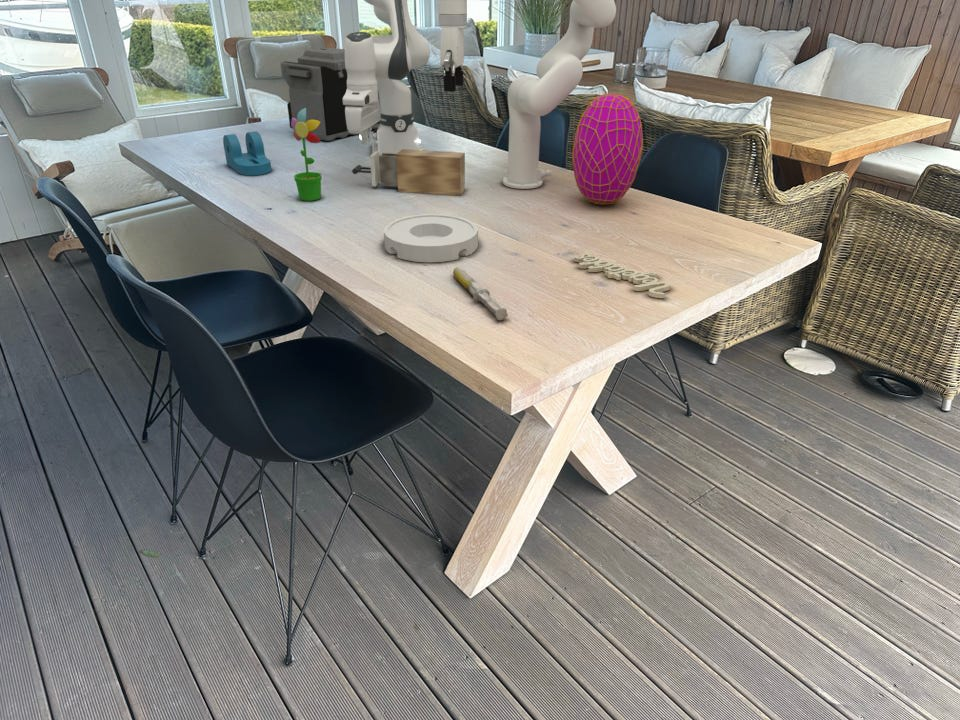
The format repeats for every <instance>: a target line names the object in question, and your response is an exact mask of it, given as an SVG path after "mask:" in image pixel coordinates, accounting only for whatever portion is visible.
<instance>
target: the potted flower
mask: <svg viewBox="0 0 960 720" xmlns="http://www.w3.org/2000/svg"><path fill="white" fill-rule="evenodd" d="M305 122H306V108H304V109H302V110H301V111H300V112H299V113H298V115H297V120H296V119H295V118H292V121H291V126H292V128H291V129H293V132H292V134H293V137H294V138H295V139H296V141H297V142H300V141H301V140H302V147H303V149H301V150H300V155H301V156H302V157H304V165H305V171H303V172H299V173H296V174H294V175H293V179H294V182H295V185H296V188H297V193H298V197H299V199H300V200H301V201H306V202H311V201H317V200H320V199H321V197H322V180H323V179H322V178H323V177H322V174H321V173H320V172H316V171H309V165H312V164H314V163H315V159H314V158H312V157H308V156H307V148H306V141H307V142H309V143H311V144H318V143H321V142H322V140H320V139H319V138H318V137H317V136H316V135H315V134H313V133H312V132H309V131H313V130H315V129H316V128H317V127H318V126H319V124H320V121H318V120H309V121H307V122H306V123H305ZM294 129H295V131H294Z"/></svg>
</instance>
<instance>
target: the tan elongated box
mask: <svg viewBox="0 0 960 720" xmlns="http://www.w3.org/2000/svg"><path fill="white" fill-rule="evenodd" d="M396 162H397V181H398V186H397V192H402V193H415V194H416V193H417V194H432V195H445V196H446V195H448V196H462V195H463V193H464V191H465V190H466V152H461V151H460V152H459V151H458V152H457V151H445V150H443V151H442V150H438V151H437V150H427V149H426V150H424V149H423V150H408V149H402V150H401V151H399V152H398V153H397V154H396Z"/></svg>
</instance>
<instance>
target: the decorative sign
mask: <svg viewBox="0 0 960 720" xmlns="http://www.w3.org/2000/svg"><path fill="white" fill-rule="evenodd" d="M574 262H575V263H578V269H588V270H587V272H588V273H598V272H603V273H604V276H606V277H607V278H608V279H614V280H617V281H621V279H622V280H627V281H628V282H630V283H633V284H634V285H633V291H636V292H643V291H647V290H648V293H647V294H648V296H649V297H652V298H656V299H664V298H665V295H666V292H668V291H669V290H670V289H671V283H670V282H668V281H659V279H658V272H657V271H648V272H639V271H637V270H634V269H630V268H628V267H627V266H626V267H625V266H624V265H619V264H618V263H615V262H611V261H610V260H604V258H601V257H598V256H596V255H592V254H590V253H587V252H586V253H582V254H581V255H580V256H578V255H575V256H574Z"/></svg>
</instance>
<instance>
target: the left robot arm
mask: <svg viewBox="0 0 960 720" xmlns="http://www.w3.org/2000/svg"><path fill="white" fill-rule="evenodd" d="M363 1H364V2H365V3H367V4H369V5H371V6H372V7H373V13H374V16H375V17H376V18H377V19H378V20H379V21H380V22H382V23H384V24H386V25H388V26H389V28H390V31H391V34H386V35H372V34H371V33H369V32H366V31H355V32H350V33H349V34H347V35H346V36H345V39H344V49H345V68H346V71H347V90H346V93H345V95H344V97H343V105H346V107H345V116H346V124H347V129H348V131H349V133H353V134H356V135H359V140H361V143H362V144H363V145H368V143H370V142H371V141H372V140H373V141H375V142H372V144H371V154H372V153H374V152H375V151H379V155H382V153H394V154H397V153H398V152H399V151H401V150H402V149H408V150H424V148H423V147H421V146H420V144H421V143H422V142H421V141H422V140H421V139H419V129H418V127H416V126H415V125H414V112H413V109H412V107H413V105H412V91H411V89H410V87H409V86H408V85H407V84H405V83H404V82H403V81H402V80H404V79H405V78H407V77H408V75H410V73H411V70H416V69H419V68H423V67H425V66H426V65H427V64H428V62H429V59H430V56H431V48H430V45H429V42H428V41H427V40H426V38H425V37H424V36H422V35H421V34H420V33H419V32H418V30H417V29H416V28H415V27H414V24H413V22H412V20H411V17H410V13H409V5H408V0H363ZM378 93H379V99H378ZM379 101H380V104H379ZM377 122H379V123H380V125H379V127H378V129H376V128H374V129H372V128H371V126H372V125H374V124H376V123H377ZM372 130H373V131H374V133H372ZM371 134H372V139H371Z"/></svg>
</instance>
